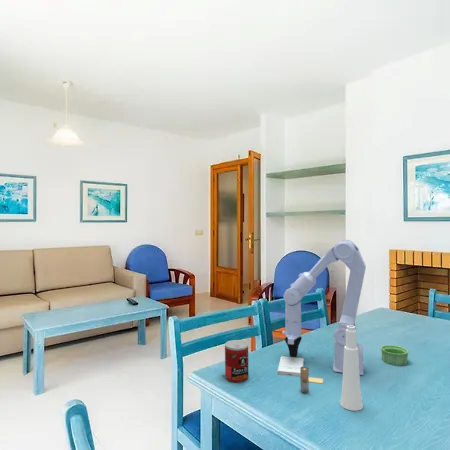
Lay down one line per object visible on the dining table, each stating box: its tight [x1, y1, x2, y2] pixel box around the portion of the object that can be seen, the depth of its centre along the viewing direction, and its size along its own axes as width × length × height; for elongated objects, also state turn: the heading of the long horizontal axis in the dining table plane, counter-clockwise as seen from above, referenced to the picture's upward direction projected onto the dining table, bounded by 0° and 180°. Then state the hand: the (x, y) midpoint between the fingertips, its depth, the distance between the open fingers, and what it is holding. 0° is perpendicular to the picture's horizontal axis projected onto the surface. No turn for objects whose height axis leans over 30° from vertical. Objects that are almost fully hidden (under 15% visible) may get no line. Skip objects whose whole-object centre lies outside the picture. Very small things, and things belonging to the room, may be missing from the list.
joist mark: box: [309, 376, 324, 385], centre depth 110 cm, size 5×3×1 cm, turn 72°
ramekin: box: [380, 344, 409, 366], centre depth 124 cm, size 9×9×4 cm
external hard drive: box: [277, 355, 305, 377], centre depth 120 cm, size 2×8×12 cm
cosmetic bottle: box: [339, 325, 364, 412], centre depth 95 cm, size 6×6×22 cm
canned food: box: [224, 339, 249, 383], centre depth 113 cm, size 8×8×11 cm
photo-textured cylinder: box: [299, 366, 310, 394], centre depth 103 cm, size 2×2×7 cm
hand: (293, 357), depth 126 cm, fingers closed
